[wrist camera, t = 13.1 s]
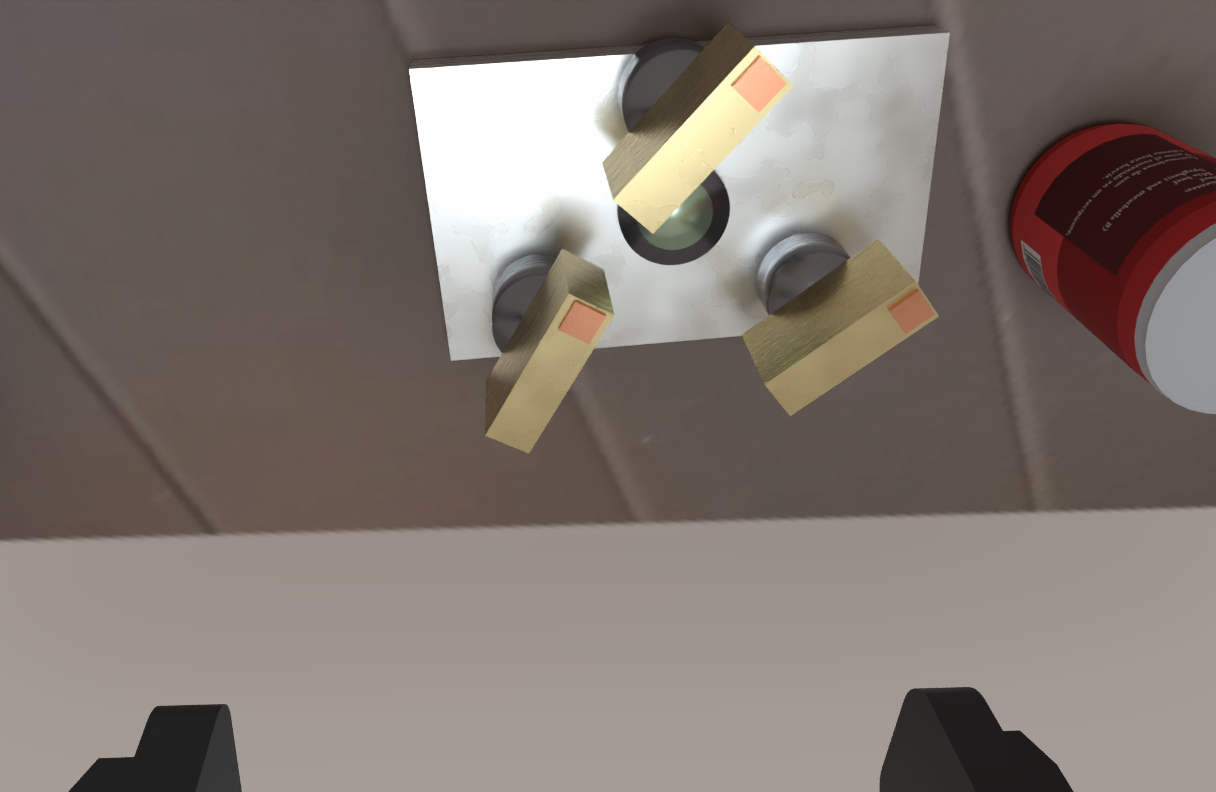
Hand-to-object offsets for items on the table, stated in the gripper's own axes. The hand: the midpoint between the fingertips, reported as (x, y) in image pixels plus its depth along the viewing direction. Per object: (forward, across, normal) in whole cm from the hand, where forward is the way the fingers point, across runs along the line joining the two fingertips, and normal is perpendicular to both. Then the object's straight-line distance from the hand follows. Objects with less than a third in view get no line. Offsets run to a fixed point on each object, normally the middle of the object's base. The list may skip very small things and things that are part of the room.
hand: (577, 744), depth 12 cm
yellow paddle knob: (+29, -6, -1) cm, 30 cm away
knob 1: (+29, -2, +8) cm, 30 cm away
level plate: (+31, -7, +3) cm, 32 cm away
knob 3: (+29, -12, +6) cm, 32 cm away
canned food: (+31, -25, +3) cm, 40 cm away
